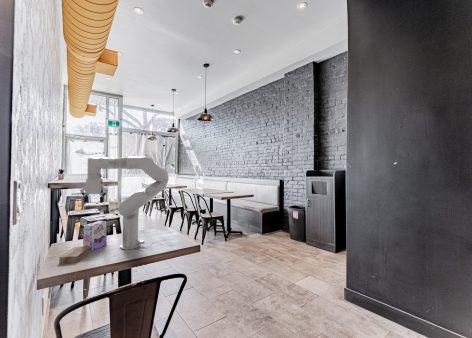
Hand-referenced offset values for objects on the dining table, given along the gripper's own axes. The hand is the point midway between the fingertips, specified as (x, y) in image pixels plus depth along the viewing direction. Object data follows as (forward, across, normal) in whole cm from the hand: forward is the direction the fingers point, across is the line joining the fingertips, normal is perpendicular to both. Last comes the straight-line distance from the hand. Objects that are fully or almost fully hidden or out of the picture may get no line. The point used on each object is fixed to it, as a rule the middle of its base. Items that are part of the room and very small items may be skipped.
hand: (94, 202), depth 156 cm
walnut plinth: (+30, +2, +16) cm, 34 cm away
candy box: (+30, -1, 0) cm, 30 cm away
